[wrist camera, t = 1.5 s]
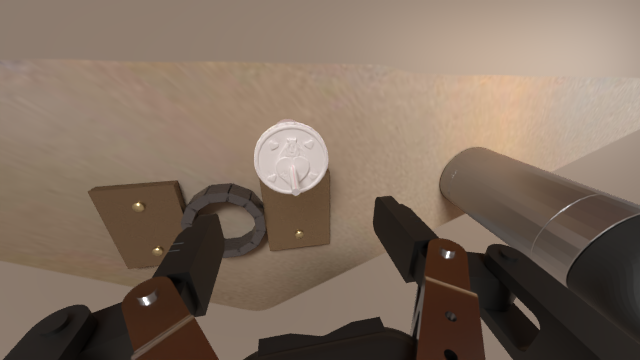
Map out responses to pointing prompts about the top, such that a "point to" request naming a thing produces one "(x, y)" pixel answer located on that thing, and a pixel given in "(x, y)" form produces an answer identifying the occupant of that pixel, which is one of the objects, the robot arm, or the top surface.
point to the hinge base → (173, 217)
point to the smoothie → (290, 157)
